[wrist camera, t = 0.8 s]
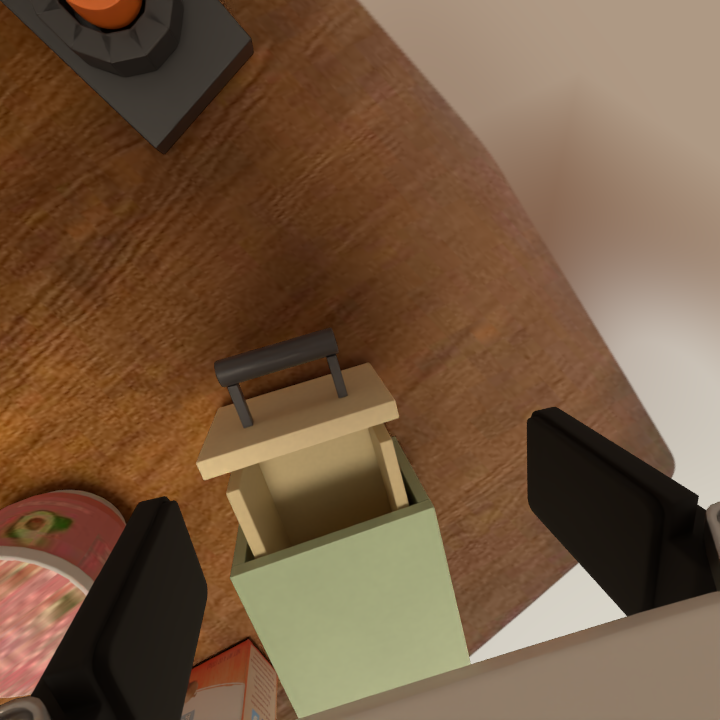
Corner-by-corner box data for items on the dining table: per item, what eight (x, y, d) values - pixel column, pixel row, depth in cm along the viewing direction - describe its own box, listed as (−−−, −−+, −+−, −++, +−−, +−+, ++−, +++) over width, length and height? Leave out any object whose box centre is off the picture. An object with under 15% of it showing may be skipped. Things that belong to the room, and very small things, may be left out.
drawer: (193, 351, 26) (161, 390, 20) (354, 304, 27) (377, 326, 21) (277, 550, 32) (274, 634, 25) (407, 505, 33) (438, 574, 26)
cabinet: (245, 484, 31) (229, 578, 22) (395, 435, 32) (434, 507, 24) (299, 612, 36) (304, 730, 27) (428, 566, 37) (471, 665, 28)
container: (177, 533, 31) (142, 627, 24) (75, 609, 32) (9, 725, 24) (68, 445, 28) (-13, 522, 20) (-44, 531, 28) (-166, 639, 20)
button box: (-20, -21, 20) (-80, -72, 17) (80, -149, 19) (38, -229, 16) (164, 155, 24) (144, 141, 20) (254, 52, 23) (248, 21, 20)
